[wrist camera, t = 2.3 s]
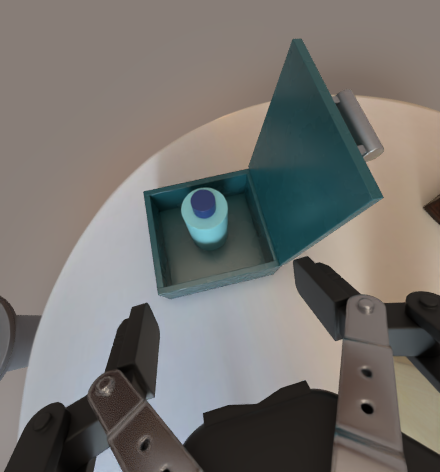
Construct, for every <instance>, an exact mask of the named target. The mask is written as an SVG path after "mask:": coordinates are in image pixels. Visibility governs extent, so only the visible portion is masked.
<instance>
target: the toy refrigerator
mask: <svg viewBox="0 0 440 472" xmlns="http://www.w3.org/2000/svg"><path fill="white" fill-rule="evenodd" d="M393 360H394V369H395V378H396V388H397V397H398V407H399V416H400V426H401V432H403V433H405V434H406V435H408V436H410V437H411V438H413V439H415V440H416V441H418V442H420V443H421V444H423V445H425V446H426V447H428V448H430V449H432V450H433V451H435V452H437V453H438V454H440V393H439V392H438V391H437V390H436V389H435V388H434V387H433V385H432V384H431V383H430V382H429V381H428V380H427V379H426V378H425V377H424V376H423V375H422V374H421V373H420V371H419V370H418V369H417V368H416V367H415V366H414V365H413V364H412V363H411V362H410V361H409V360H408V359H407V358H406V356H393Z"/></svg>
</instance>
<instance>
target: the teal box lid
mask: <svg viewBox="0 0 440 472" xmlns="http://www.w3.org/2000/svg"><path fill="white" fill-rule="evenodd" d="M383 152H384V148H383V146H382V144H381V142H380V140H379V139H378V137H377V135H376V133H375V132H374V130H373V128H372V126H371V124H370V123H369V121H368V119H367V117H366V115H365V114H364V112H363V110H362V108H361V107H360V105H359V103H358V101H357V99H356V98H355V96H354V94H353V92H352V91H351V90H350V89H346V90H343V91H341V92H339V93H338V94H337V95H336V96H334V97H332V96H331V95H330V93H329V91H328V89H327V87H326V85H325V83H324V81H323V79H322V77H321V75H320V73H319V71H318V69H317V68H316V66H315V64H314V62H313V60H312V58H311V56H310V54H309V52H308V50H307V48H306V46H305V44H304V42H303V41H302V39H293V40H292V43H291V46H290V48H289V51H288V54H287V57H286V60H285V63H284V66H283V68H282V71H281V74H280V77H279V80H278V83H277V86H276V89H275V91H274V94H273V97H272V100H271V103H270V106H269V109H268V112H267V114H266V117H265V120H264V123H263V126H262V129H261V132H260V135H259V137H258V140H257V143H256V146H255V149H254V152H253V155H252V158H251V160H250V163H249V166H248V167H249V170H250V173H251V176H252V179H253V182H254V186H255V189H256V192H257V195H258V198H259V201H260V204H261V207H262V210H263V214H264V217H265V220H266V223H267V226H268V229H269V232H270V235H271V238H272V241H273V245H274V248H275V251H276V254H277V257H278V260H279V263H280V265H284V264H287V263H288V262H290V261H291V260H293V259H294V258H296V257H297V256H298V255H300V254H301V253H303V252H304V251H306V250H307V249H309V248H310V247H312V246H313V245H315V244H316V243H318V242H319V241H321V240H322V239H323V238H325V237H326V236H328V235H329V234H331V233H332V232H334V231H335V230H337V229H338V228H340V227H341V226H343V225H344V224H346V223H347V222H348V221H350V220H351V219H353V218H354V217H356V216H357V215H359V214H360V213H362V212H363V211H365V210H366V209H368V208H369V207H371V206H372V205H374V204H375V203H376V202H378V201H379V200H381V199H382V198H384V197H383V195H382V193H381V191H380V189H379V187H378V185H377V183H376V182H375V180H374V178H373V176H372V174H371V172H370V170H369V168H368V166H367V164H366V162H368V161H371V160H373V159H375V158H377V157H378V156H380V155H381V154H382V153H383Z"/></svg>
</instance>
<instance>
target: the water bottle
mask: <svg viewBox="0 0 440 472" xmlns="http://www.w3.org/2000/svg"><path fill="white" fill-rule="evenodd" d="M181 213H182V216H183V219H184V221H185V223H186V226H187V228H188V230H189V232H190V235H191V237H192V239H193V242H194V243H195V244H196V245H197V246H198V247H199V248H201V249H203V250H208V251H211V250H215V249H218V248H220V247H221V246H222V245H223V244H224V243H225V241H226V239H227V236H228V205H227V201H226V199H225V197H224V196H223V195H222V194H221V193H220V192H218V191H217V190H215V189H212V188H199V189H196V190H194V191H192V192H190V193H189V194H188V195H187V196H186V197H185V199H184V201H183V203H182V207H181Z"/></svg>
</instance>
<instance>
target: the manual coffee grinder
mask: <svg viewBox="0 0 440 472" xmlns="http://www.w3.org/2000/svg"><path fill="white" fill-rule="evenodd" d="M423 208H424V209H425V210H426V211H427V212H428V213H429V214H430V215H431V217H432V218H433V219H434V220H435V221H436V222H438V223H439V224H440V194H439V195H438V196H437V197H436V198H434V199H433V200H432V201H431V202H429V203H428V204H427V205H425V206H424V207H423Z"/></svg>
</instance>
